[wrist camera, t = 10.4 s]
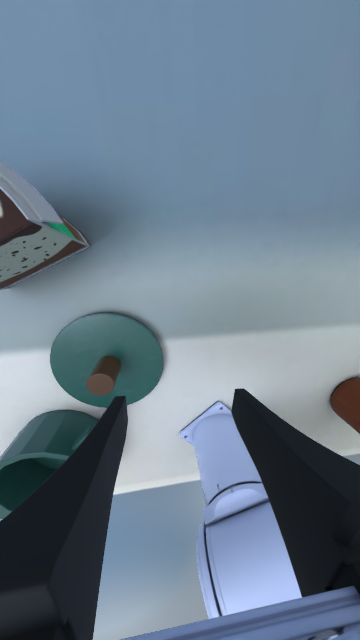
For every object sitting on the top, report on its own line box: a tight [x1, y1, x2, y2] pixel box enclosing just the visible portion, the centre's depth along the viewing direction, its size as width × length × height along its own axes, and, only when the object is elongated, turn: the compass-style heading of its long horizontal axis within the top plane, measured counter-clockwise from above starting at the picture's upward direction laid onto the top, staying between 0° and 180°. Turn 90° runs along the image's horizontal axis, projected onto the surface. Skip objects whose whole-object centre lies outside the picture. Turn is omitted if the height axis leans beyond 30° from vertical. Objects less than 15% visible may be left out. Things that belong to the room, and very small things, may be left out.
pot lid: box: [50, 313, 163, 408], centre depth 19 cm, size 12×12×4 cm
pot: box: [0, 410, 99, 519], centre depth 22 cm, size 11×17×5 cm
